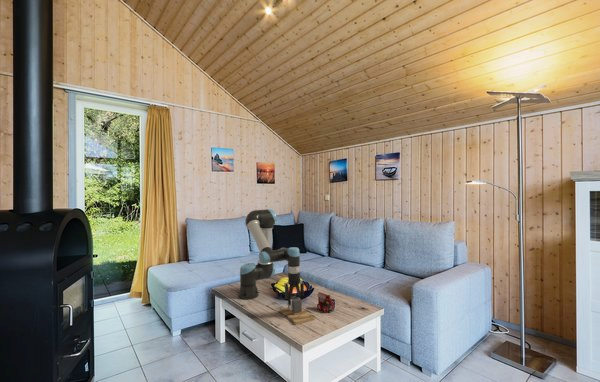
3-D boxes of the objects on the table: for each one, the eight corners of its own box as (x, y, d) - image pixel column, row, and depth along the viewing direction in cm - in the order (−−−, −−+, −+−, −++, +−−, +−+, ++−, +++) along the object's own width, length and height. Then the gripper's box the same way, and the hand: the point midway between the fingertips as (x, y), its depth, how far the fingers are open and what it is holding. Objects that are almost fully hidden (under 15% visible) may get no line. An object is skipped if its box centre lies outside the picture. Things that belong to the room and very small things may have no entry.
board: (280, 311, 189) (280, 309, 189) (298, 307, 195) (298, 304, 195) (295, 324, 170) (295, 322, 170) (314, 319, 176) (314, 317, 176)
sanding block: (288, 309, 188) (288, 297, 188) (295, 307, 190) (295, 295, 190) (294, 314, 180) (294, 301, 180) (301, 312, 182) (301, 300, 182)
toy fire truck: (329, 314, 183) (328, 297, 183) (315, 308, 192) (314, 293, 192) (336, 311, 188) (335, 295, 188) (322, 305, 197) (321, 290, 197)
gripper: (283, 275, 177) (284, 313, 177) (309, 271, 186) (310, 307, 186) (278, 272, 184) (279, 309, 184) (303, 268, 192) (304, 303, 192)
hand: (294, 308), depth 185 cm, fingers closed on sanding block, 5 cm apart
